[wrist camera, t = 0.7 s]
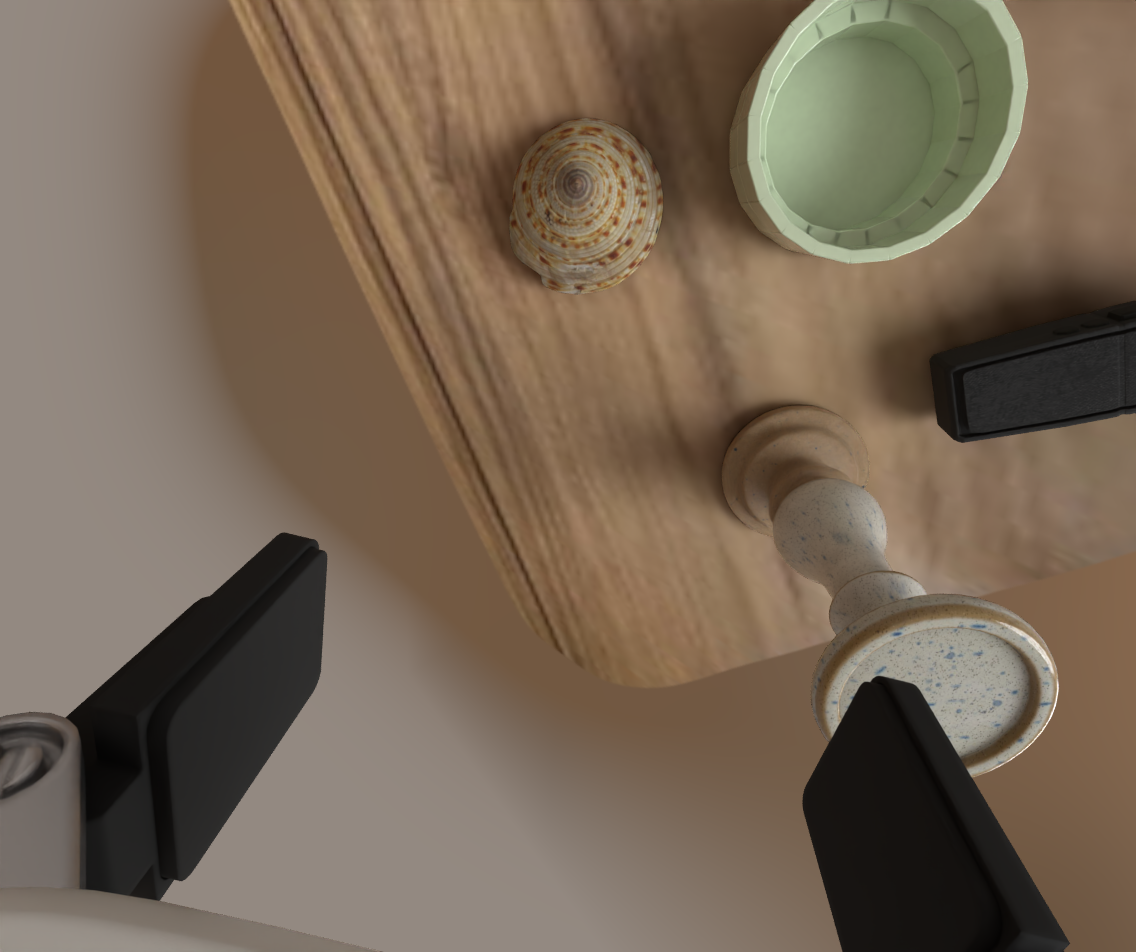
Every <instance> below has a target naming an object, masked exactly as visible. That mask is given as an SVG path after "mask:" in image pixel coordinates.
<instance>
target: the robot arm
mask: <svg viewBox="0 0 1136 952" xmlns="http://www.w3.org/2000/svg"><path fill="white" fill-rule="evenodd" d="M326 571H327V554H326V552H325V551H323V550H319V545H318V542H317V541H316V540H314V539H309V538H305V537H301V536H297V535H293V534H289V533H280V534H279V535H277V536H276V537H275V538H274V539H273V540H272V541H271V542H270V543H269V544H267V545H266V546H265V547H264V548H263V549H262V550H261V551H260V552H258V553H257V554H256V555H255V556H254V557H253V558H252V559H251V560H250V561H248V562H247V563H246V564H245V565H244V566H243V567H242V568H241V569H240V570H239V571H237V572H236V573H235V574H234V575H233V576H232V577H231V578H230V579H229V580H227V581H226V582H225V583H224V584H223V585H222V586H221V587H220V588H219V589H218V590H216V591H215V592H214V593H213V594H212V595H211V596H208V597H204V598H201V599H200V600H198V601H197V602H195V603H194V604H193V605H192V606H191V607H190V608H188V609H187V610H186V611H185V612H184V613H183V614H182V615H181V616H179V617H178V618H177V619H176V620H175V621H174V622H173V623H171V624H170V625H169V626H168V627H167V628H166V629H165V630H164V631H162V633H160V634H159V635H158V636H157V637H156V638H155V639H154V640H152V641H151V642H150V643H149V644H148V645H147V646H146V647H144V648H143V649H142V650H141V651H140V652H139V653H138V654H137V655H135V656H134V657H133V658H132V659H131V660H130V661H129V662H127V663H126V664H125V665H124V666H123V667H122V668H121V669H120V670H119V671H117V672H116V673H115V674H114V675H113V676H112V677H111V678H109V679H108V680H107V681H106V682H105V683H104V684H103V685H102V686H101V687H99V688H98V689H97V690H96V691H95V692H94V693H93V694H91V695H90V696H89V697H88V698H87V699H86V700H85V701H84V702H82V703H81V704H80V705H79V706H78V707H77V708H76V709H75V710H74V711H72V712H71V713H70V714H69V715H68V716H67V717H66V718H64V717H61V716H58V715H55V714H52V713H40V712H28V713H20V714H13V715H6V716H3V717H0V952H381V951H376V950H372V949H369V948H364V947H360V946H356V945H352V944H348V943H344V942H339V941H335V940H331V939H327V938H322V937H318V936H314V935H310V934H306V933H302V932H298V931H293V930H289V929H285V928H280V927H276V926H272V925H267V924H262V923H258V922H253V921H248V920H244V919H239V918H235V917H230V916H226V915H221V914H217V913H212V912H208V911H203V910H198V909H194V908H189V907H185V906H180V905H176V904H171V903H166V902H162V901H160V899H161V898H162V897H163V895H164V894H165V892H166V891H167V889H168V888H169V886H170V885H171V884H172V882H173V881H174V880H179V881H183V880H185V879H186V878H187V877H188V876H189V875H190V874H191V873H192V871H193V870H194V868H195V867H196V866H197V864H198V863H199V861H200V860H201V858H202V857H203V855H204V854H205V852H206V851H207V849H208V848H209V846H210V845H211V843H212V842H213V840H214V839H215V838H216V836H217V835H218V833H219V832H220V830H221V829H222V827H223V825H224V824H225V823H226V821H227V820H228V818H229V817H230V815H231V814H232V812H233V811H234V809H235V808H236V806H237V805H238V803H239V802H240V800H241V799H242V797H243V796H244V794H245V793H246V791H247V790H248V788H249V787H250V785H251V784H252V782H253V781H254V779H255V778H256V776H257V775H258V773H259V772H260V770H261V769H262V767H263V766H264V765H265V763H266V762H267V760H268V759H269V757H270V756H271V754H272V753H273V751H274V749H275V748H276V747H277V745H278V744H279V742H280V741H281V739H282V738H283V736H284V735H285V733H286V732H287V730H288V729H289V727H290V726H291V724H292V723H293V721H294V720H295V718H296V717H297V715H298V714H299V712H300V711H301V709H302V708H303V706H304V705H305V703H306V702H307V700H308V699H309V697H310V696H311V694H312V693H313V691H314V689H315V687H316V685H317V683H318V680H319V677H320V672H321V658H322V641H323V624H324V623H323V622H324V607H325V589H326ZM803 811H804V815H805V819H806V822H807V826H808V829H809V833H810V837H811V840H812V843H813V847H814V851H815V854H816V858H817V862H818V865H819V869H820V872H821V876H822V879H823V883H824V887H825V890H826V894H827V898H828V901H829V904H830V908H831V912H832V915H833V919H834V922H835V926H836V929H837V933H838V937H839V940H840V944H841V947H842V951H843V952H1064V949H1065V948H1066V947H1067V946H1068V945H1069V944H1070V943H1069V941H1068V939H1067V938H1066V936H1065V934H1064V933H1063V931H1062V929H1061V927H1060V926H1059V924H1058V923H1057V921H1056V919H1055V917H1054V916H1053V914H1052V912H1051V911H1050V909H1049V907H1048V906H1047V904H1046V902H1045V900H1044V899H1043V897H1042V895H1041V894H1040V892H1039V890H1038V889H1037V887H1036V885H1035V884H1034V882H1033V880H1032V878H1031V877H1030V875H1029V873H1028V872H1027V870H1026V868H1025V867H1024V865H1023V863H1022V862H1021V860H1020V858H1019V857H1018V855H1017V853H1016V851H1015V850H1014V848H1013V846H1012V845H1011V843H1010V841H1009V840H1008V838H1007V836H1006V835H1005V833H1004V831H1003V829H1002V828H1001V826H1000V825H999V823H998V821H997V819H996V818H995V816H994V814H993V813H992V811H991V809H990V808H989V806H988V804H987V802H986V801H985V799H984V797H983V796H982V794H981V793H980V791H979V789H978V787H977V786H976V784H975V782H974V781H973V779H972V777H971V775H970V774H969V772H968V770H967V769H966V767H965V765H964V764H963V762H962V760H961V759H960V757H959V755H958V753H957V752H956V750H955V748H954V747H953V745H952V743H951V742H950V740H949V738H948V737H947V735H946V733H945V731H944V730H943V728H942V726H941V725H940V723H939V721H938V720H937V718H936V716H935V715H934V713H933V711H932V710H931V708H930V706H929V704H928V703H927V701H926V699H925V698H924V696H923V694H922V693H921V691H920V689H919V688H918V687H917V686H916V685H914V684H912V683H909V682H905V681H901V680H897V679H893V678H888V677H884V676H876V677H874V678H873V679H872V680H871V682H868V681H867V682H863V683H862V684H861V685H860V687H859V688H858V690H857V692H856V694H855V696H854V698H853V699H852V701H851V703H850V705H849V707H848V709H847V711H846V712H845V714H844V716H843V718H842V720H841V722H840V724H839V725H838V727H837V729H836V731H835V733H834V735H833V737H832V738H831V740H830V742H829V744H828V746H827V748H826V750H825V751H824V753H823V755H822V757H821V759H820V761H819V763H818V764H817V766H816V768H815V770H814V772H813V774H812V776H811V778H810V779H809V781H808V783H807V785H806V787H805V789H804V794H803Z"/></svg>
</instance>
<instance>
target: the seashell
mask: <svg viewBox="0 0 1136 952" xmlns="http://www.w3.org/2000/svg"><path fill="white" fill-rule="evenodd" d="M662 212H663V193H662V184H661V180H660V176H659V173H658V171H657V169H656V167H655V165H654V163H653V161H652V157H651V155H650V154H649V152H648V151H647V150H646V148H645V147H644V146H643V145H642V144H641V143H640V142H639V141H638V140H637V139H636V138H635V137H634V136H633V135H632V134H631V133H629V132H628V131H626V130H624V129H623V128H621V127H619V126H618V125H615V124H613V123H610V122H608V121H603V120H599V119H591V118H584V119H576V120H571V121H568V122H565V123H562V124H560V125H558V126H556V127H554V128H552V129H551V130H549V131H548V132H546V133H545V134H543V135H542V136H541V137H540V138H538V139H537V140H536V141H535V142H534V144H533V145H532V146H531V147H530V148H529V150H528V151H527V153H526V154H525V156H524V157H523V159H522V161H521V163H520V165H519V167H518V170H517V173H516V177H515V181H514V187H513V211H512V213H511V215H510V218H509V219H510V226H509V232H510V239H511V247H512V250H513V252H514V254H515V255H516V256H517V257H518V258H519V259H520V260H521V261H522V262H523V263H524V264H526V265H527V266H529V267H530V268H532V269H533V270H534V271H536V272H537V273H539V274H540V276H541V279H542V283H543V285H544V286H546V287H547V288H550V289H552V290H555V291H558V292H561V293H571V294H577V295H578V294H583V293H592V292H597V291H602V290H606V289H608V288H610V287H613V286H615V285H617V284H618V283H620V282H621V281H623V280H624V279H626V278H627V277H628V276H630V275H631V274H632V273H633V272H634V271H635V270H636V269H637V268H638V267H639V266H640V265H641V263H642V262H643V260H644V259H646V258H647V256H648V254H649V253H650V251H651V249H652V247H653V245H654V243H655V241H656V238H657V234H658V231H659V227H660V224H661V219H662Z"/></svg>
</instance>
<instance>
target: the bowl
mask: <svg viewBox="0 0 1136 952" xmlns="http://www.w3.org/2000/svg"><path fill="white" fill-rule="evenodd" d="M1027 83H1028V78H1027V71H1026V64H1025V57H1024V50H1023V42H1022V37H1021V34H1020V32H1019V30H1018V29H1017V27H1016V25H1015V23H1014V21H1013V19H1012V17H1011V16H1010V14H1009V12H1008V10H1007V8H1006V6H1005V5H1004V3H1003V1H1002V0H814V1H813V2H812V3H811V4H810V5H809V6H808V7H806V8H805V9H804V10H803V11H802V12H801V13H800V14H799V15H798V16H797V17H796V18H795V19H794V20H793V21H792V22H791V23H790V24H789V25H788V26H787V27H786V29H785V30H784V31H783V32H782V34H781V35H780V36H779V37H778V39H777V40H776V41H775V42H774V44H773V45H772V46H771V47H770V49H769V50H768V51H767V52H766V54H765V55H764V56H763V58H762V59H761V61H760V62H759V64H758V66H757V67H756V69H755V71H754V72H753V74H752V76H751V77H750V79H749V80H748V82H747V84H746V85H745V87H744V89H743V91H742V93H741V95H740V99H739V102H738V106H737V109H736V112H735V116H734V119H733V123H732V126H731V132H730V173H731V177H732V180H733V183H734V187H735V190H736V193H737V197H738V200H739V203H740V205H741V206H742V208H743V209H744V211H745V212H746V213H747V215H748V216H749V218H750V219H751V220H752V222H753V223H754V225H755V226H756V227H757V229H758V230H760V232H761V233H763V234H764V235H766V236H767V237H769V238H770V239H772V240H773V241H775V242H776V243H777V244H779V245H780V246H782V247H783V248H785V249H787V250H791V251H795V252H799V253H803V254H807V255H811V256H815V257H820V258H824V259H829V260H833V261H838V262H843V263H849V264H853V263H865V262H877V261H888V260H892V259H894V258H897V257H899V256H902V255H904V254H907V253H910V252H912V251H915V250H917V249H920V248H922V247H925V246H927V245H929V244H931V243H932V242H934V241H935V240H936V239H938V238H939V237H940V236H942V235H943V234H945V233H946V232H947V231H949V230H950V229H951V228H953V227H954V226H955V225H957V224H958V223H959V222H961V221H962V220H963V219H965V218H966V217H967V216H968V215H969V214H970V213H971V211H972V210H973V209H974V208H975V207H976V205H977V204H978V203H979V202H980V200H981V199H982V198H983V197H984V196H985V194H986V193H987V192H988V191H989V189H990V188H991V187H992V186H993V184H994V183H995V182H996V181H997V179H998V178H999V177H1000V175H1001V173H1002V170H1003V168H1004V166H1005V164H1006V162H1007V160H1008V158H1009V155H1010V153H1011V151H1012V149H1013V147H1014V145H1015V142H1016V140H1017V138H1018V136H1019V134H1020V133H1019V132H1020V130H1021V124H1022V118H1023V112H1024V106H1025V100H1026V94H1027V88H1028V84H1027Z"/></svg>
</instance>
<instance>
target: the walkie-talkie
mask: <svg viewBox="0 0 1136 952" xmlns="http://www.w3.org/2000/svg"><path fill="white" fill-rule="evenodd" d="M930 368H931V376H932V384H933V392H934V399H935V407H936V415H937V423H938V425H939V426H940V427H941V428H942V429H943V430H944V431H945V432H946V433H947V434H948V435H949V436H950V437H951V438H952V439H953V440H956V441H958V442H961V443H964V442H970V441H977V440H983V439H990V438H996V437H1002V436H1009V435H1015V434H1021V433H1028V432H1034V431H1041V430H1047V429H1053V428H1060V427H1066V426H1071V425H1076V424H1082V423H1087V422H1092V421H1097V420H1102V419H1108V418H1113V417H1117V416H1119V415H1121V414H1133V413H1136V301H1132V302H1128V303H1124V304H1120V305H1116V306H1112V307H1108V308H1105V309H1101V310H1097V311H1094V312H1091V313H1090V314H1081V315H1077V316H1073V317H1069V318H1065V319H1061V320H1057V321H1053V322H1049V323H1045V324H1041V325H1037V326H1033V327H1030V328H1026V329H1022V330H1019V331H1015V332H1012V333H1008V334H1005V335H1001V336H998V337H994V338H991V339H987V340H983V341H980V342H976V343H973V344H969V345H966V346H962V347H959V348H955V349H952V350H948V351H944V352H941V353H937V354H934V355H933V356H932V357H931V358H930Z"/></svg>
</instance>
